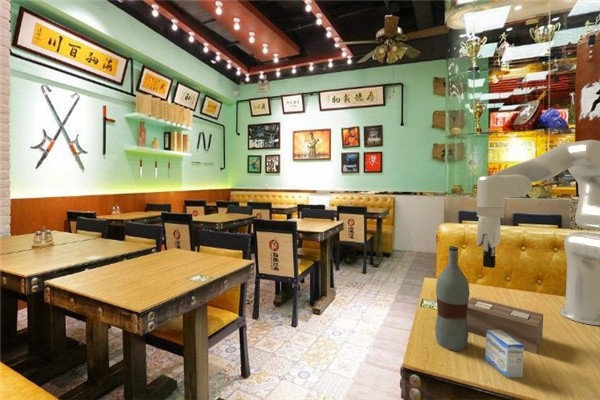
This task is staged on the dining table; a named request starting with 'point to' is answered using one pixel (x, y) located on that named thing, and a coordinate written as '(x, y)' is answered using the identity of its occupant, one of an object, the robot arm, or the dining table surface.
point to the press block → (506, 323)
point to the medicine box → (504, 353)
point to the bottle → (452, 305)
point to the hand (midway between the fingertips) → (489, 266)
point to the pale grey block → (520, 315)
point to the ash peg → (483, 305)
